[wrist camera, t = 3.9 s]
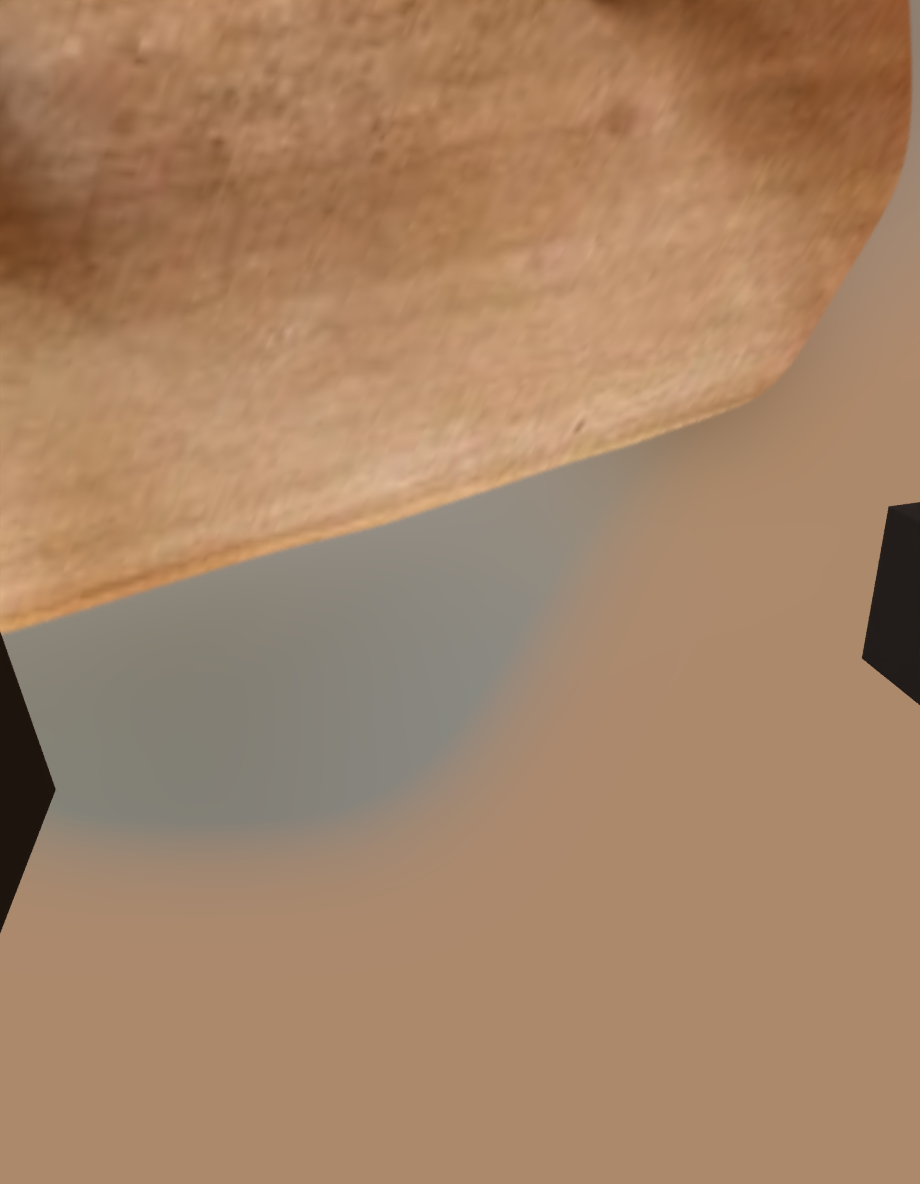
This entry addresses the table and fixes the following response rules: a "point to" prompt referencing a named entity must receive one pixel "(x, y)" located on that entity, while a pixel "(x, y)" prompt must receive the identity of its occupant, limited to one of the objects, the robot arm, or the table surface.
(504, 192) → the table surface
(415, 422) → the table surface
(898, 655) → the robot arm
